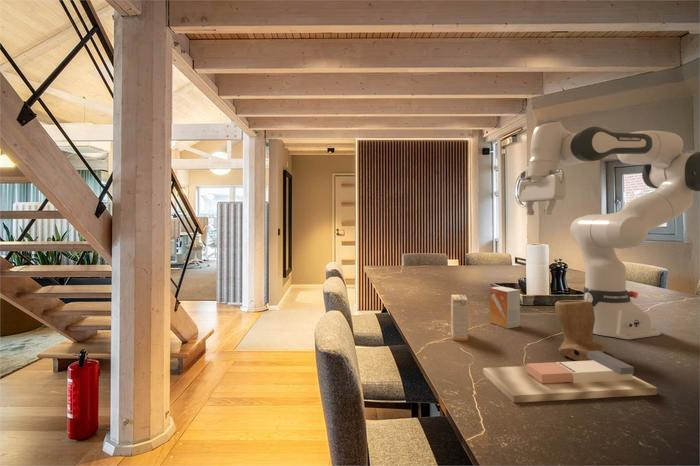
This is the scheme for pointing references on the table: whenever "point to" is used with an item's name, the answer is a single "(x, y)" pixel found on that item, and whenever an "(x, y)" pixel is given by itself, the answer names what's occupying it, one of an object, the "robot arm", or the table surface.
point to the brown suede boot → (577, 328)
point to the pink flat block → (548, 372)
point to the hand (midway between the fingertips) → (538, 214)
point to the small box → (505, 307)
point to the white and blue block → (598, 368)
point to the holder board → (560, 387)
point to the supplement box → (459, 317)
